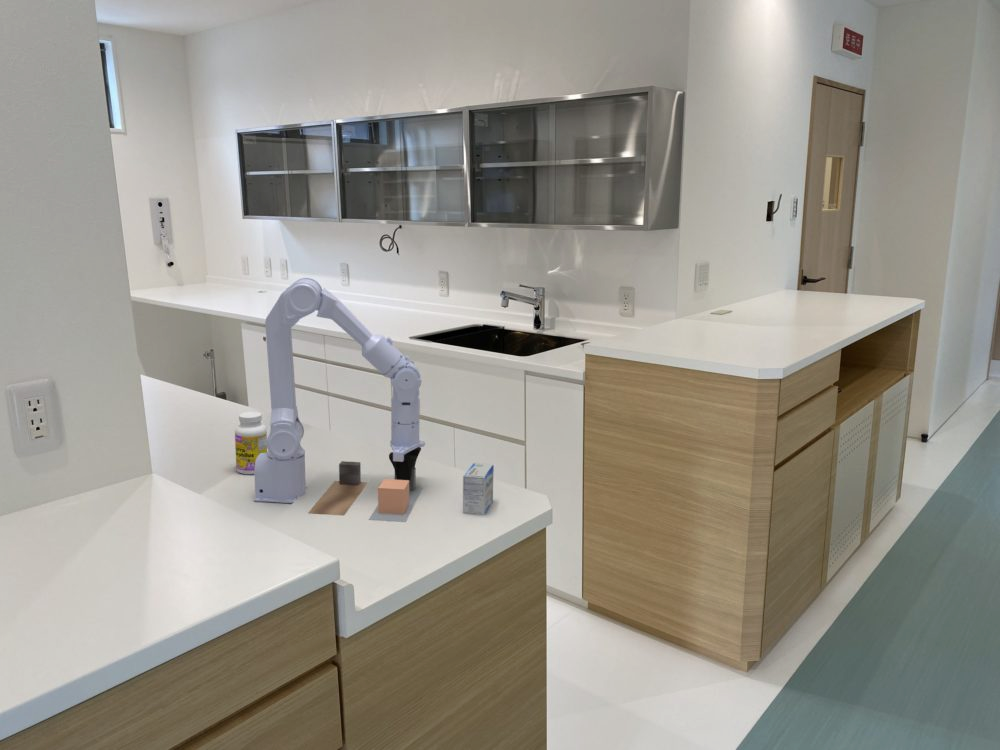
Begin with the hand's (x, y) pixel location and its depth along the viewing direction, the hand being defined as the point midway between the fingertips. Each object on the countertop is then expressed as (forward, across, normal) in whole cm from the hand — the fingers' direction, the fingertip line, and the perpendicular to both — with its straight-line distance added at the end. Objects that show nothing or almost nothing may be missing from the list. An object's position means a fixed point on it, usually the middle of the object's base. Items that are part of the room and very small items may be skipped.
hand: (405, 484), depth 156 cm
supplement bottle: (+2, +8, +36) cm, 37 cm away
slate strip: (+2, -7, 0) cm, 7 cm away
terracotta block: (+1, -11, 0) cm, 11 cm away
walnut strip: (+2, -6, +12) cm, 13 cm away
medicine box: (+2, -8, -16) cm, 18 cm away
